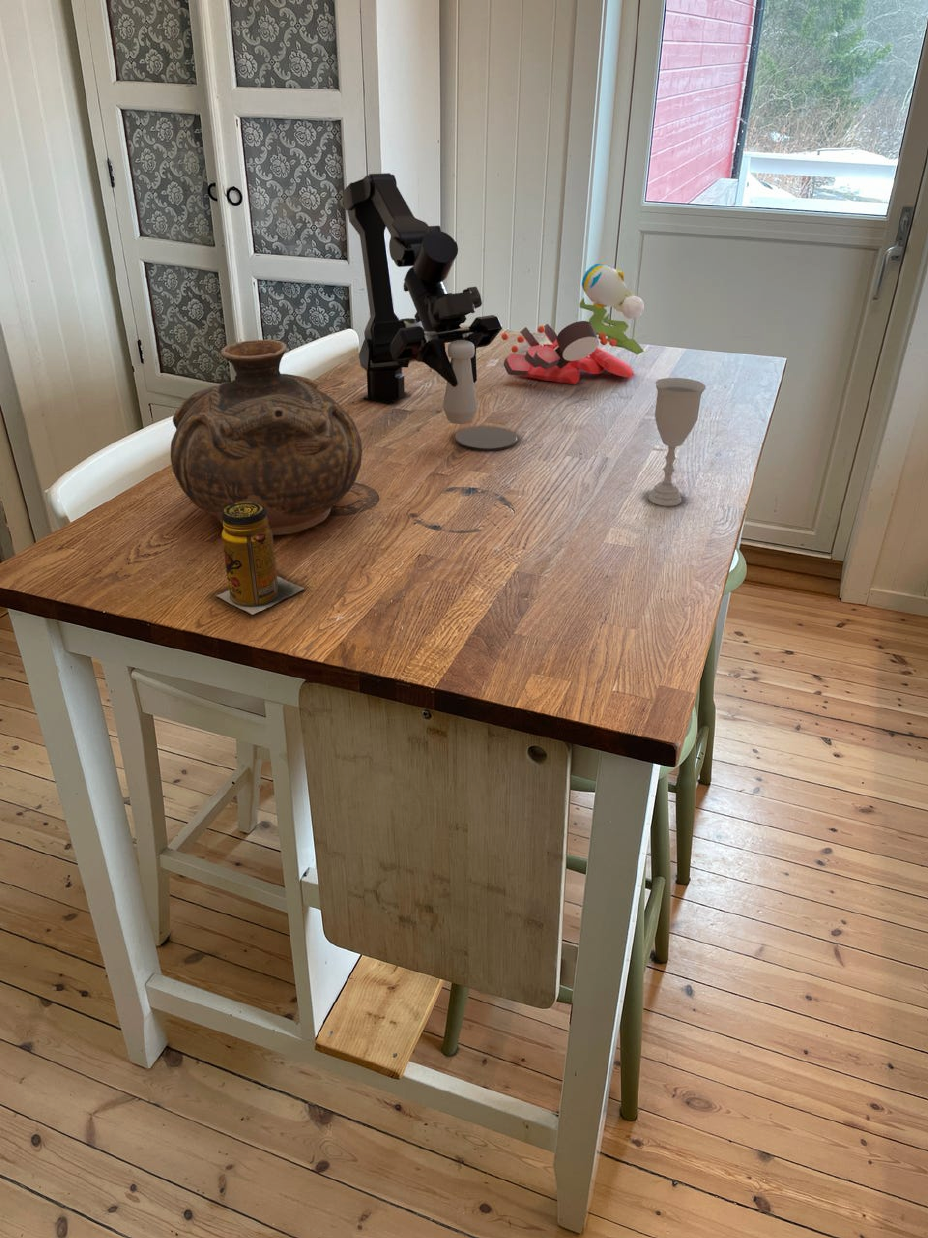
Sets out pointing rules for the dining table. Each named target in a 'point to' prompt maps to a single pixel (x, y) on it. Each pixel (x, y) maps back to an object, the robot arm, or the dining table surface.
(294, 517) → the vessel
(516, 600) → the dining table surface
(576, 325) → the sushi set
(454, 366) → the salt shaker
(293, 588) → the condiment
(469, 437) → the coaster
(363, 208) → the robot arm
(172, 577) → the dining table surface
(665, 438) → the chalice
